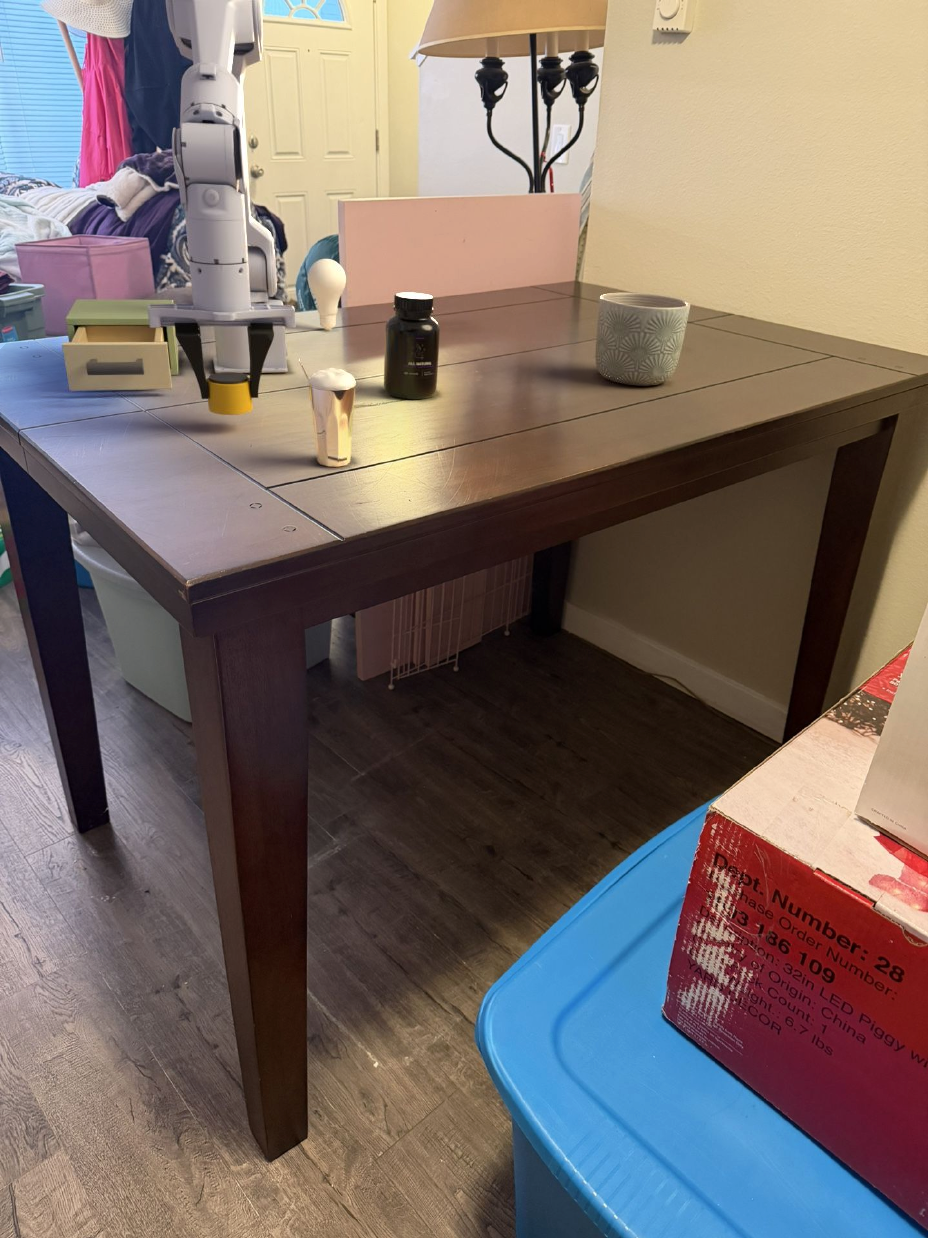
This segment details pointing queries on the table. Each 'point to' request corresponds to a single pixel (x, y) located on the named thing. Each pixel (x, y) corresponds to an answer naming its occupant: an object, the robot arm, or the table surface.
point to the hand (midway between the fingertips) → (229, 395)
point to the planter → (639, 337)
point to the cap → (229, 393)
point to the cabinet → (120, 319)
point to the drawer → (117, 358)
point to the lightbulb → (327, 289)
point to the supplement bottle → (411, 348)
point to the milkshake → (332, 414)
